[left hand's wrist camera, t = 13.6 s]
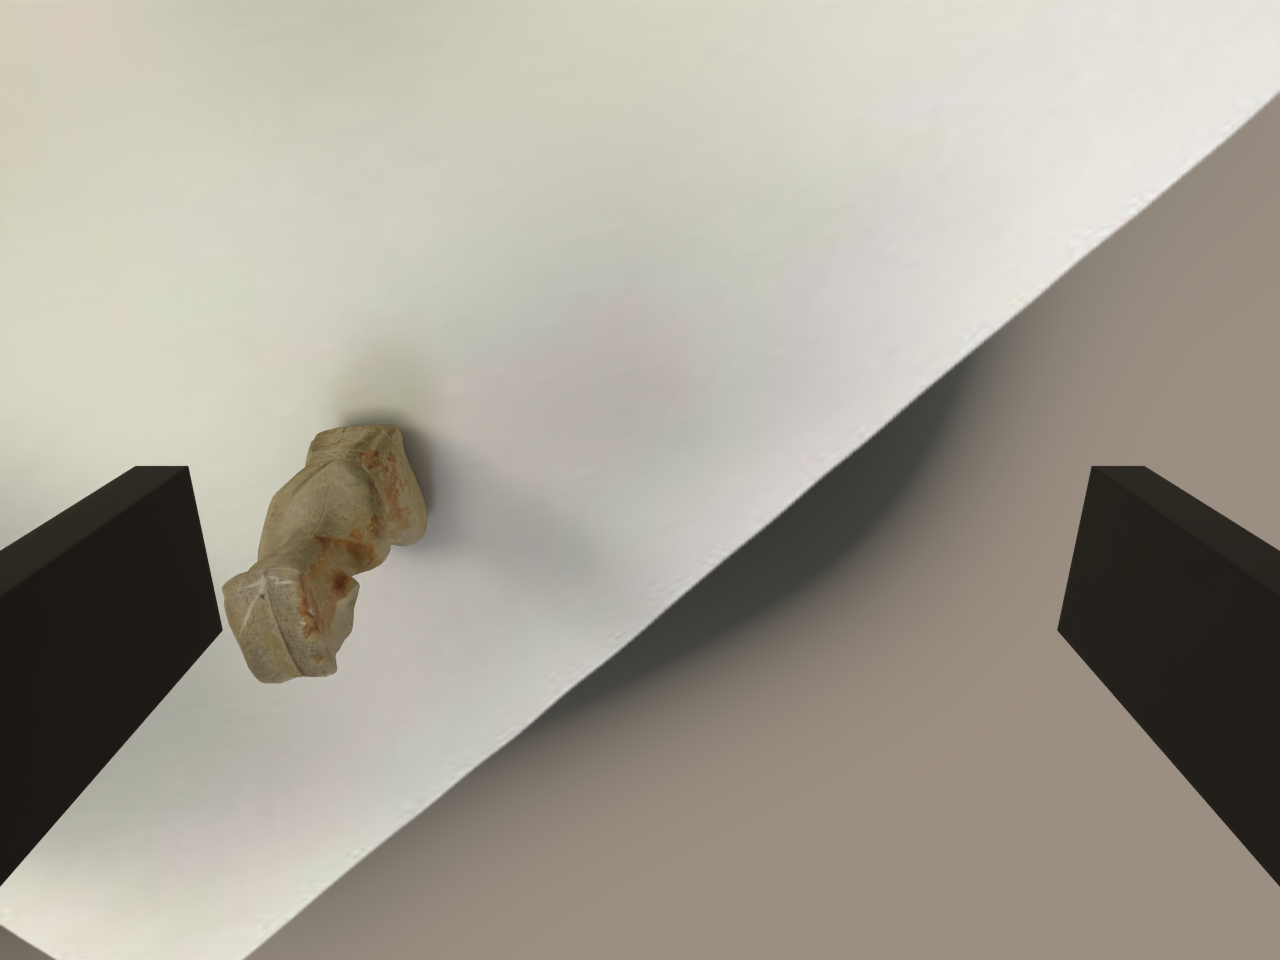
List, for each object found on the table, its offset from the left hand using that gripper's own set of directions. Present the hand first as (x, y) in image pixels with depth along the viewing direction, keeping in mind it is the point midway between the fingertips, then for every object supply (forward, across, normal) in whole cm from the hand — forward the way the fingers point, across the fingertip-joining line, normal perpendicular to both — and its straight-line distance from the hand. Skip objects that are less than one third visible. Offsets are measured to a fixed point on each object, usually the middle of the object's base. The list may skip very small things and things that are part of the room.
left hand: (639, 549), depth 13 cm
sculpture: (+31, +14, +11) cm, 36 cm away
